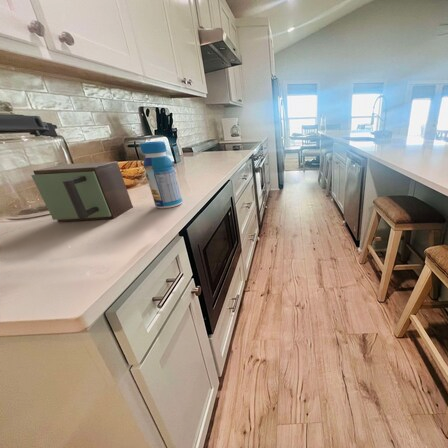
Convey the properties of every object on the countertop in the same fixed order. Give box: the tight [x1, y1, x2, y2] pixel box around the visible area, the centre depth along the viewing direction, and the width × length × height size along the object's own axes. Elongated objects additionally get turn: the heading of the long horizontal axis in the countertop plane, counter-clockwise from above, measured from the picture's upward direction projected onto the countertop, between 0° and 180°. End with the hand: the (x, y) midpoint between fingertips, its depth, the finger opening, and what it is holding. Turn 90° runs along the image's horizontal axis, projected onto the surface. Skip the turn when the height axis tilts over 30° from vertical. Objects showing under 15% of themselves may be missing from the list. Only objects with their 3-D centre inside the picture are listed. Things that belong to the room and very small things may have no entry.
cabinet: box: [32, 161, 134, 223], centre depth 72 cm, size 16×10×15 cm, turn 93°
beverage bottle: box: [139, 140, 183, 209], centre depth 76 cm, size 8×8×20 cm
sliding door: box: [31, 171, 111, 221], centre depth 64 cm, size 16×7×13 cm, turn 93°
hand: (18, 135), depth 52 cm, fingers open, 13 cm apart
